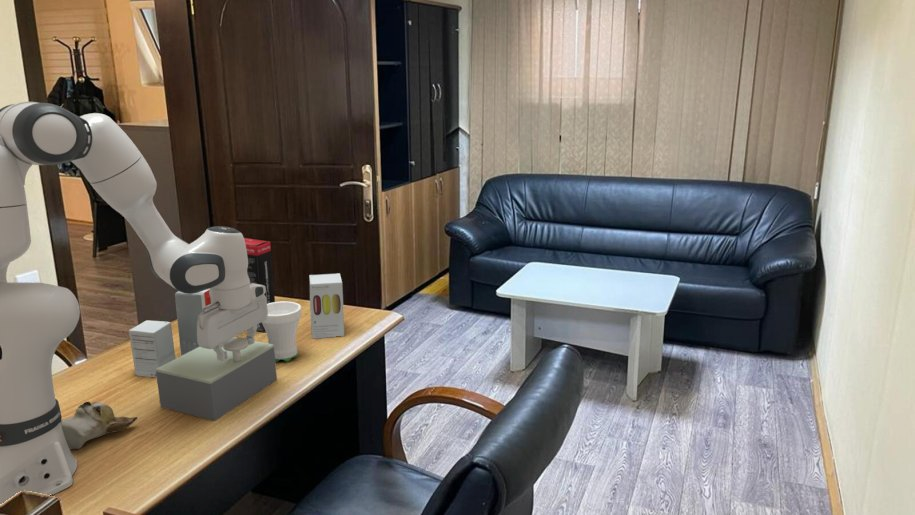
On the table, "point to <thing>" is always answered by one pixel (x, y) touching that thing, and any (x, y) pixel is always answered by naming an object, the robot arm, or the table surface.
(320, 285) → the supplement box
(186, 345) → the hard drive box
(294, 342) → the cup
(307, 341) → the table surface
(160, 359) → the supplement box
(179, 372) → the lid flap
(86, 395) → the table surface
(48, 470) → the robot arm
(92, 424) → the ceramic sculpture
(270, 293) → the graphics card box
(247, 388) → the carton
